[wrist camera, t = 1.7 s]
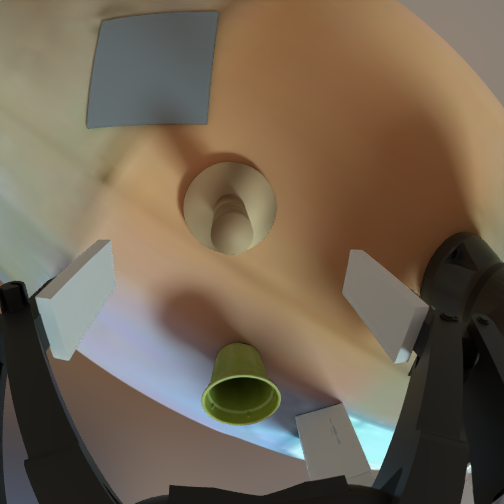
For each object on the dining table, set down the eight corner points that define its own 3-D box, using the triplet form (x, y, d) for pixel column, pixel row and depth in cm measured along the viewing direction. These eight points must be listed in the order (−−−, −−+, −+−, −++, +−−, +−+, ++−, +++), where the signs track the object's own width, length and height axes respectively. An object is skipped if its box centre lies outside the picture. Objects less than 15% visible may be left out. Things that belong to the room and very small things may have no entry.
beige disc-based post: (278, 165, 31) (305, 172, 21) (270, 251, 34) (290, 296, 24) (186, 160, 30) (166, 164, 20) (184, 247, 33) (167, 292, 23)
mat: (218, 13, 24) (218, 11, 24) (207, 124, 29) (206, 123, 28) (103, 23, 23) (102, 21, 22) (88, 128, 27) (86, 128, 27)
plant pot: (190, 349, 38) (185, 394, 30) (250, 320, 37) (257, 363, 29) (226, 389, 41) (228, 432, 33) (282, 364, 40) (293, 408, 32)
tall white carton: (342, 402, 45) (391, 518, 22) (342, 427, 48) (382, 529, 25) (294, 415, 45) (327, 540, 22) (299, 439, 48) (327, 547, 25)
